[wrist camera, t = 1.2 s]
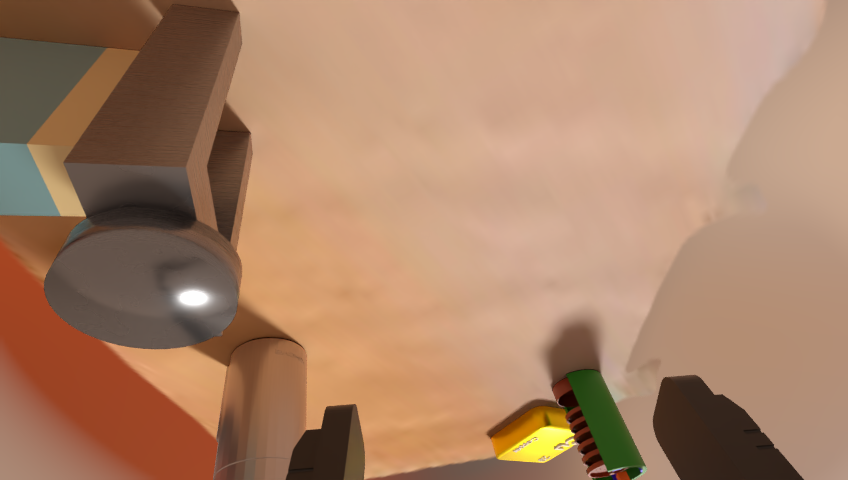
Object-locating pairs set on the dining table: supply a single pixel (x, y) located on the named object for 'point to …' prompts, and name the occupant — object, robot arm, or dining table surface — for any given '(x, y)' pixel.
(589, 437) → the motor
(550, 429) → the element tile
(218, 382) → the dining table surface
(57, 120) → the sage green rectangular prism
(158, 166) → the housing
